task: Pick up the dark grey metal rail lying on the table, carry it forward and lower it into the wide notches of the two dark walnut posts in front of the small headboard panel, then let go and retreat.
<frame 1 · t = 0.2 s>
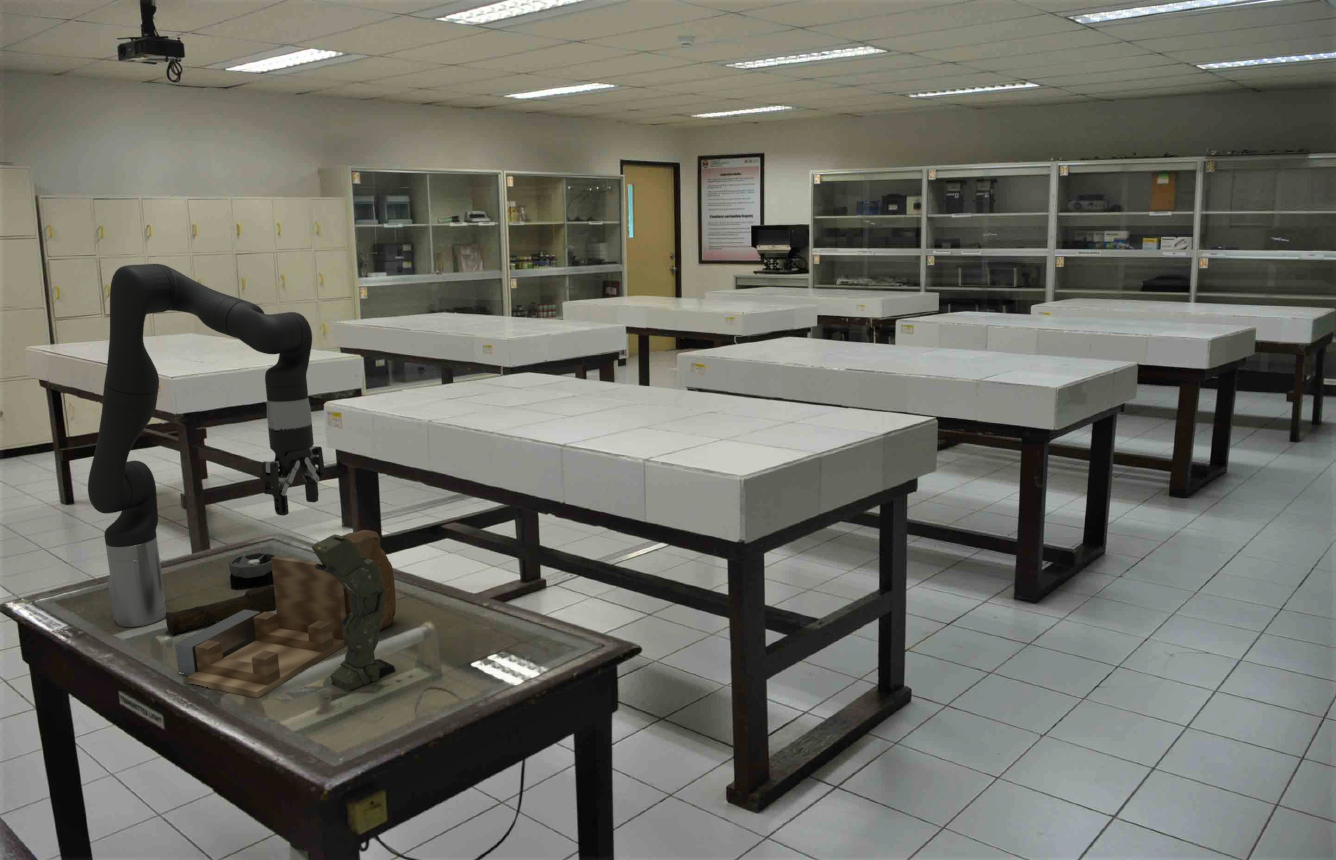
hand: (297, 508, 179), 28 cm above the table, fingers open, 8 cm apart
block: (368, 629, 195), on the table
rail: (222, 657, 183), on the table
post cradle: (268, 664, 179), on the table
mechanical leg: (360, 679, 173), on the table
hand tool: (227, 621, 201), on the table
cpu cooler: (255, 583, 222), on the table
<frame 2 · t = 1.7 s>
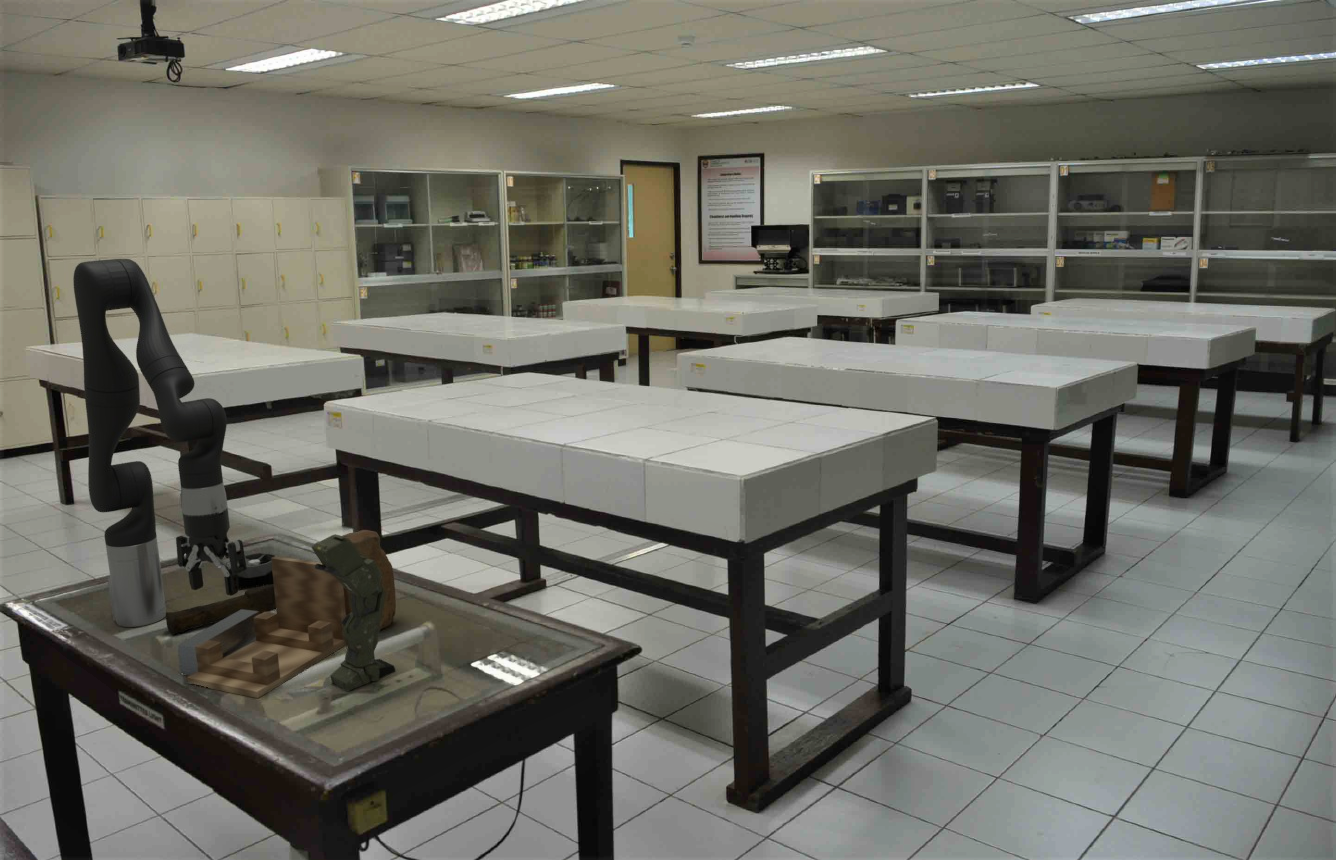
hand: (215, 591, 180), 13 cm above the table, fingers open, 8 cm apart
nothing on the table moved.
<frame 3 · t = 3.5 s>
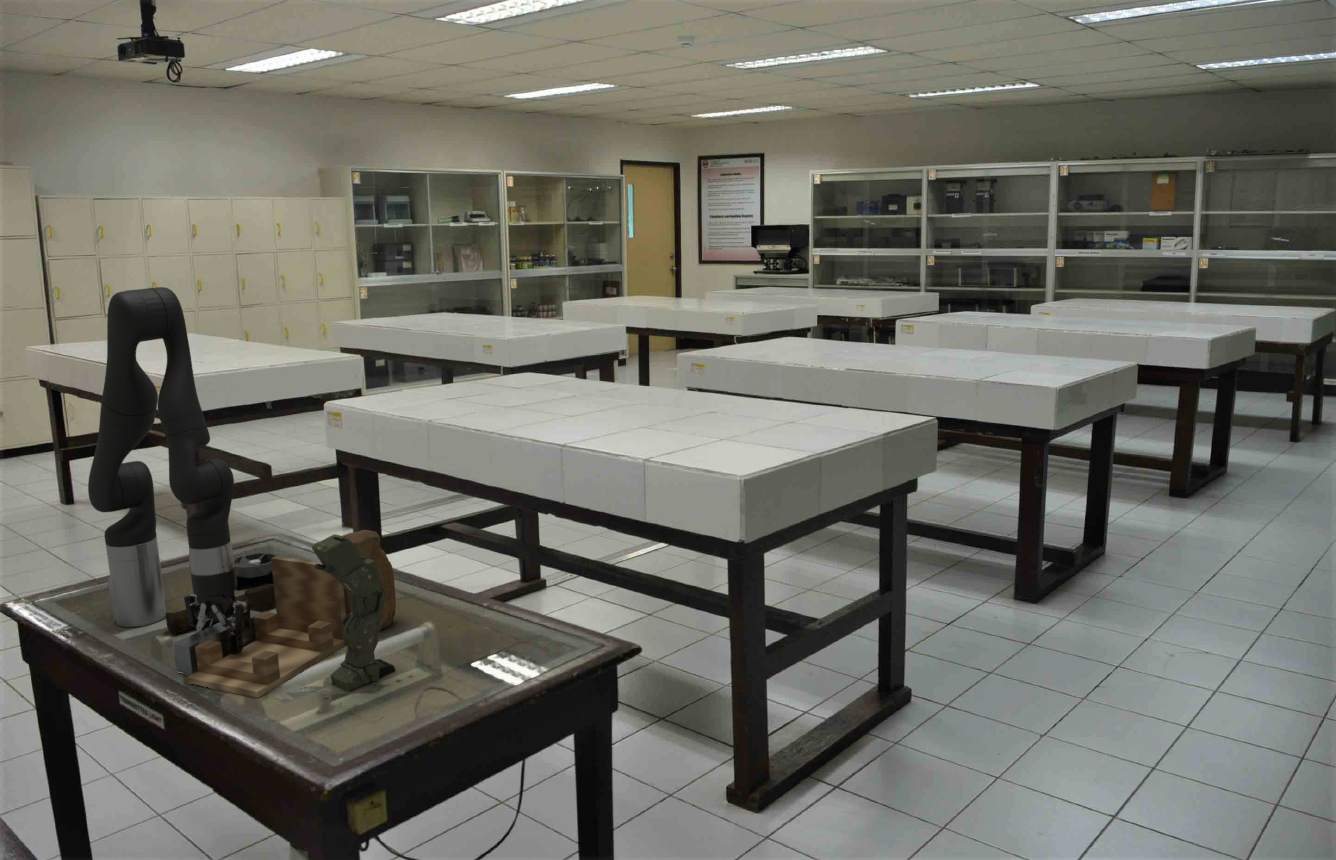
hand: (222, 649, 183), 1 cm above the table, fingers open, 6 cm apart
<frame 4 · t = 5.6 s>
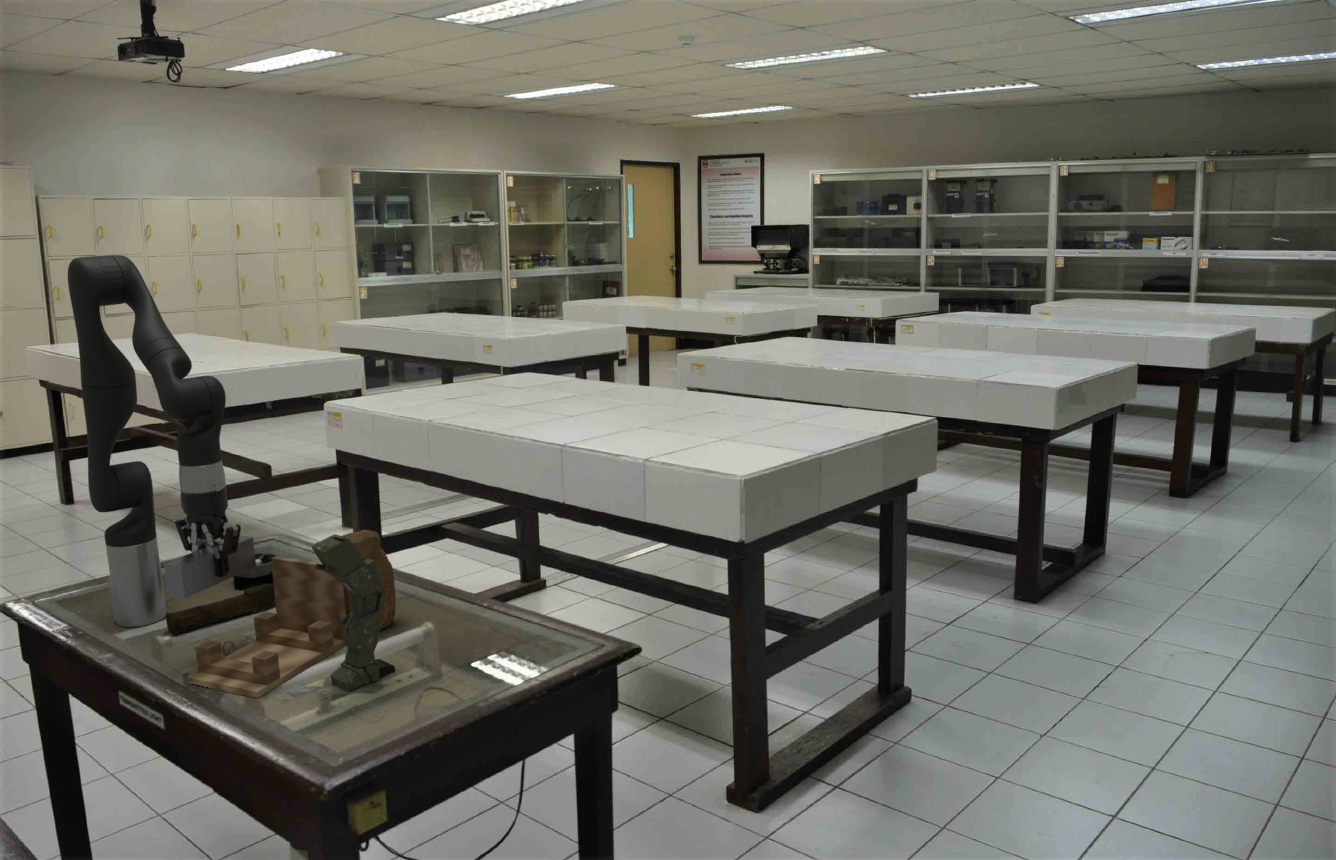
hand: (213, 573, 180), 16 cm above the table, fingers closed on rail, 4 cm apart
rail: (213, 580, 180), point 15 cm above the table, touching gripper
everything else where it was.
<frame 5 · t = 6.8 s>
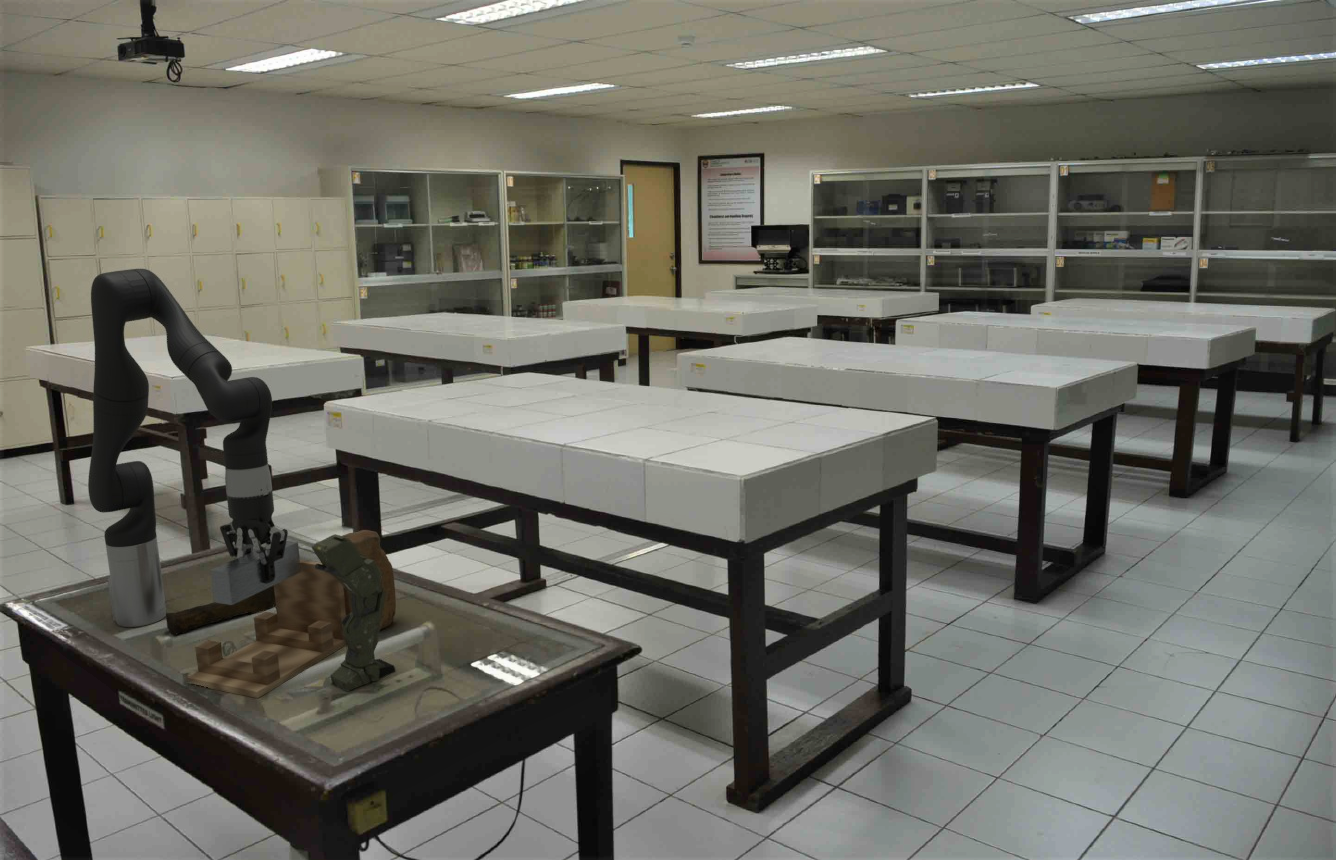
hand: (258, 580, 176), 17 cm above the table, fingers closed on rail, 4 cm apart
rail: (259, 586, 176), point 15 cm above the table, touching gripper
everything else where it was.
when the fingers open (5 cm above the table, at t = 9.5 s): rail stays where it is, resting on post cradle.
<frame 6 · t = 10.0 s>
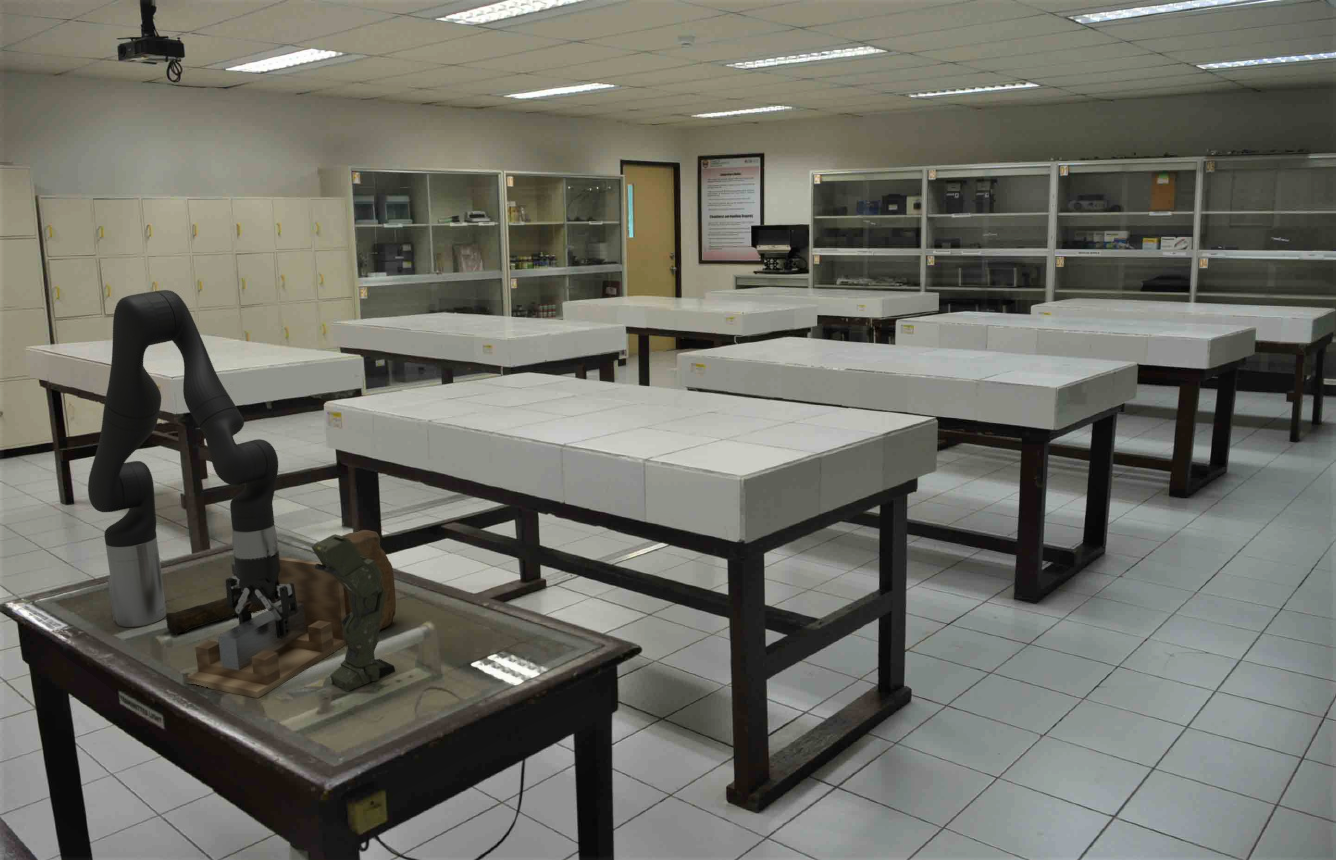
hand: (265, 633, 178), 6 cm above the table, fingers open, 8 cm apart
rail: (265, 649, 179), point 3 cm above the table, touching post cradle
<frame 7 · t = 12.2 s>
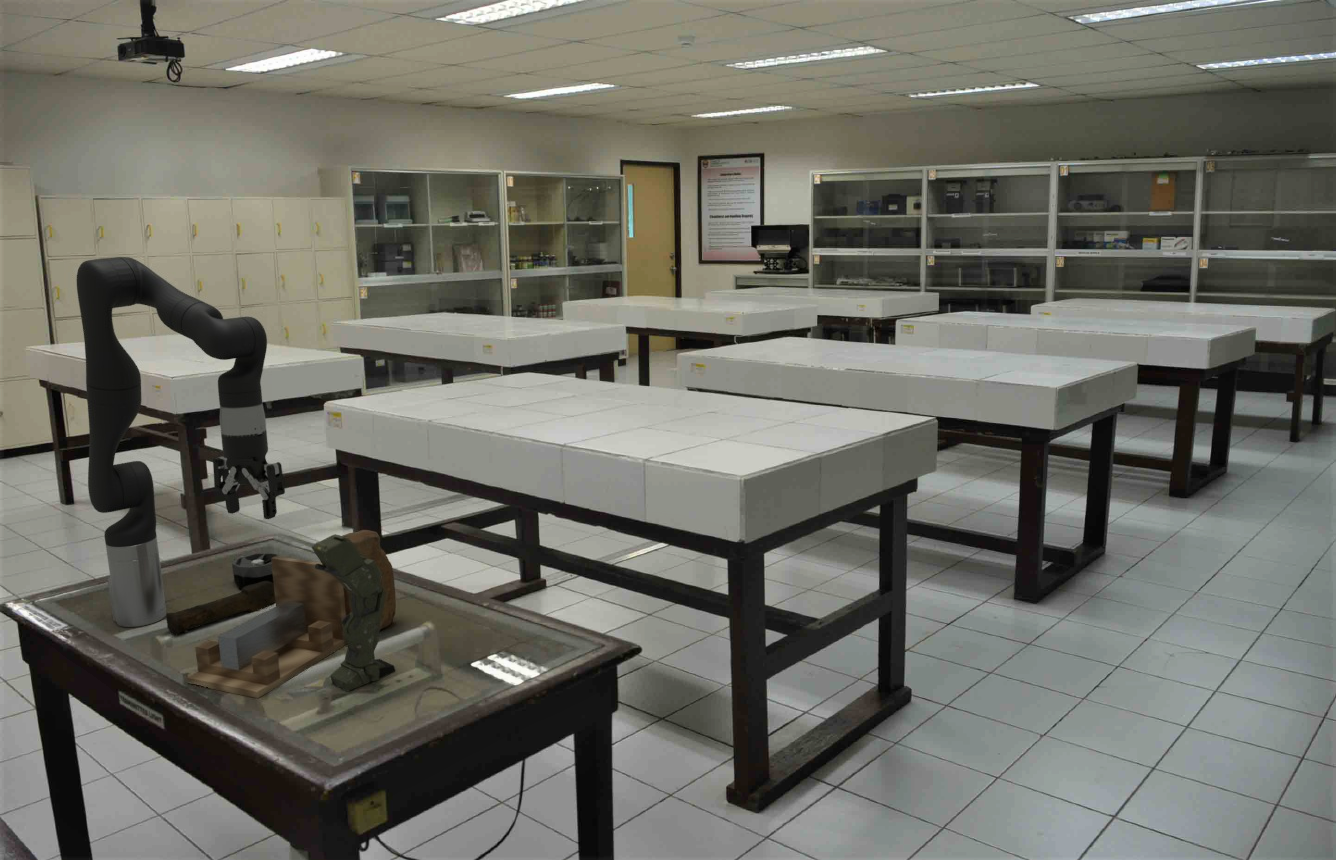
hand: (251, 515, 177), 28 cm above the table, fingers open, 8 cm apart
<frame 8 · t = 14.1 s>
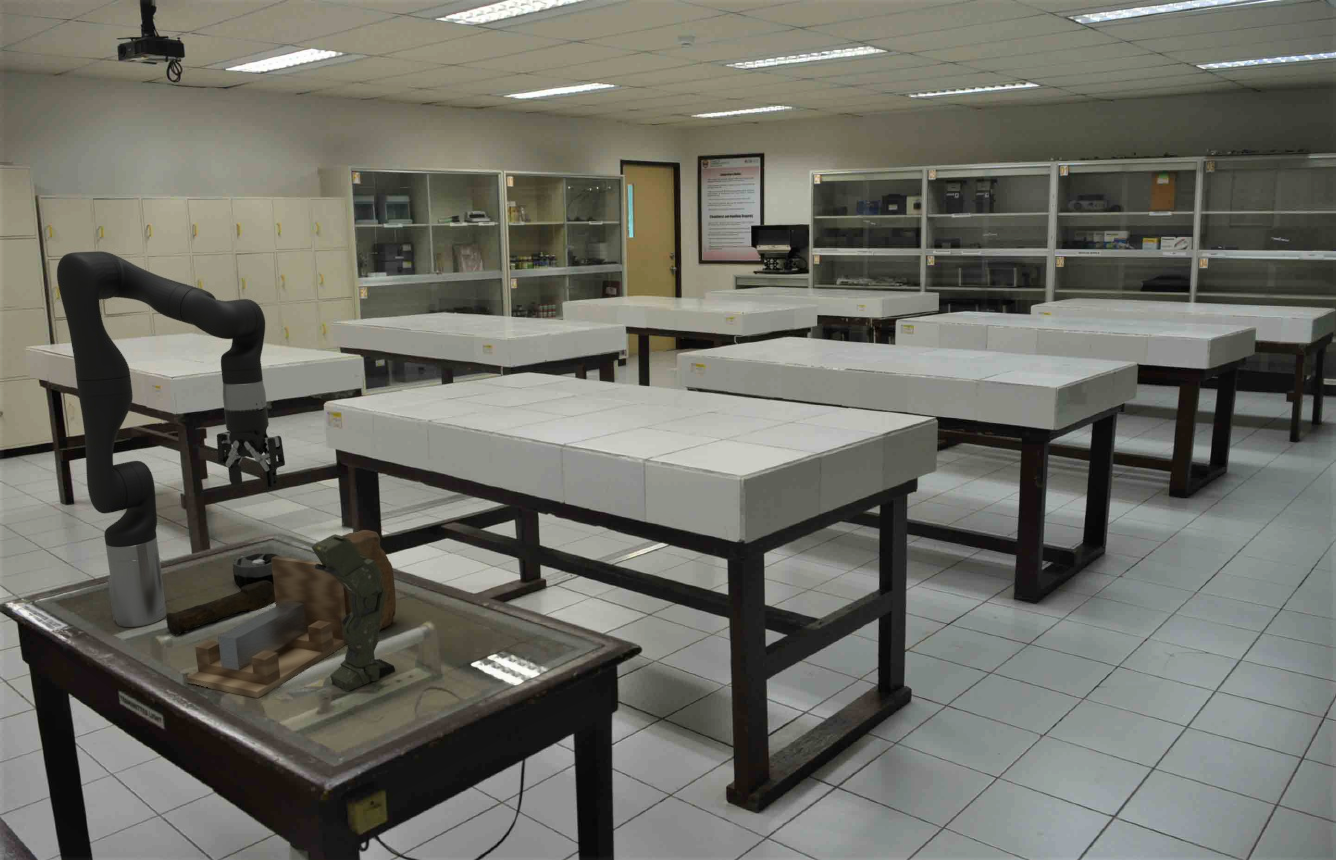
hand: (254, 486, 188), 30 cm above the table, fingers open, 8 cm apart
at the end: rail inside the target area on the post cradle (0.2 cm from its centre), point 3.0 cm above the post cradle's base; the gripper is holding nothing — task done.
